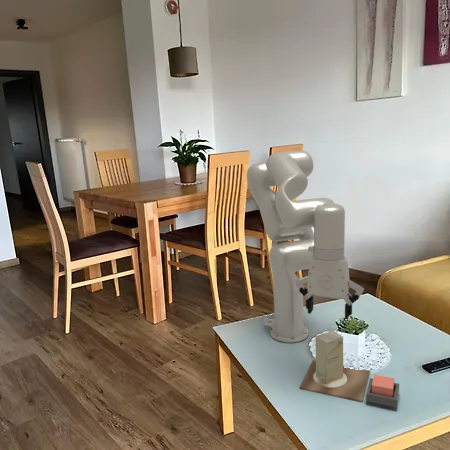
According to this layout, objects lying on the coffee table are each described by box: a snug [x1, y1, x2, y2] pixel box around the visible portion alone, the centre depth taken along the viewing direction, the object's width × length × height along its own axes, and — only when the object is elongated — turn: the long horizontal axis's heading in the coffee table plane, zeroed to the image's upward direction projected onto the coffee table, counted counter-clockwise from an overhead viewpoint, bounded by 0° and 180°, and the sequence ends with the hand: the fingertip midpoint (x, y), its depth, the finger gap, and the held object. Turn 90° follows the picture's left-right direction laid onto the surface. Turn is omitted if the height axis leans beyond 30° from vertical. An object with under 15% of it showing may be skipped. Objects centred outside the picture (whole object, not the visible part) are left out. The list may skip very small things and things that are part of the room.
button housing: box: [365, 377, 400, 412], centre depth 106 cm, size 7×7×3 cm
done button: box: [372, 374, 395, 397], centre depth 106 cm, size 5×5×2 cm
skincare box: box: [315, 330, 344, 384], centre depth 115 cm, size 6×4×12 cm
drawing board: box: [299, 359, 371, 403], centre depth 116 cm, size 16×14×1 cm
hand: (328, 314), depth 112 cm, fingers open, 9 cm apart
